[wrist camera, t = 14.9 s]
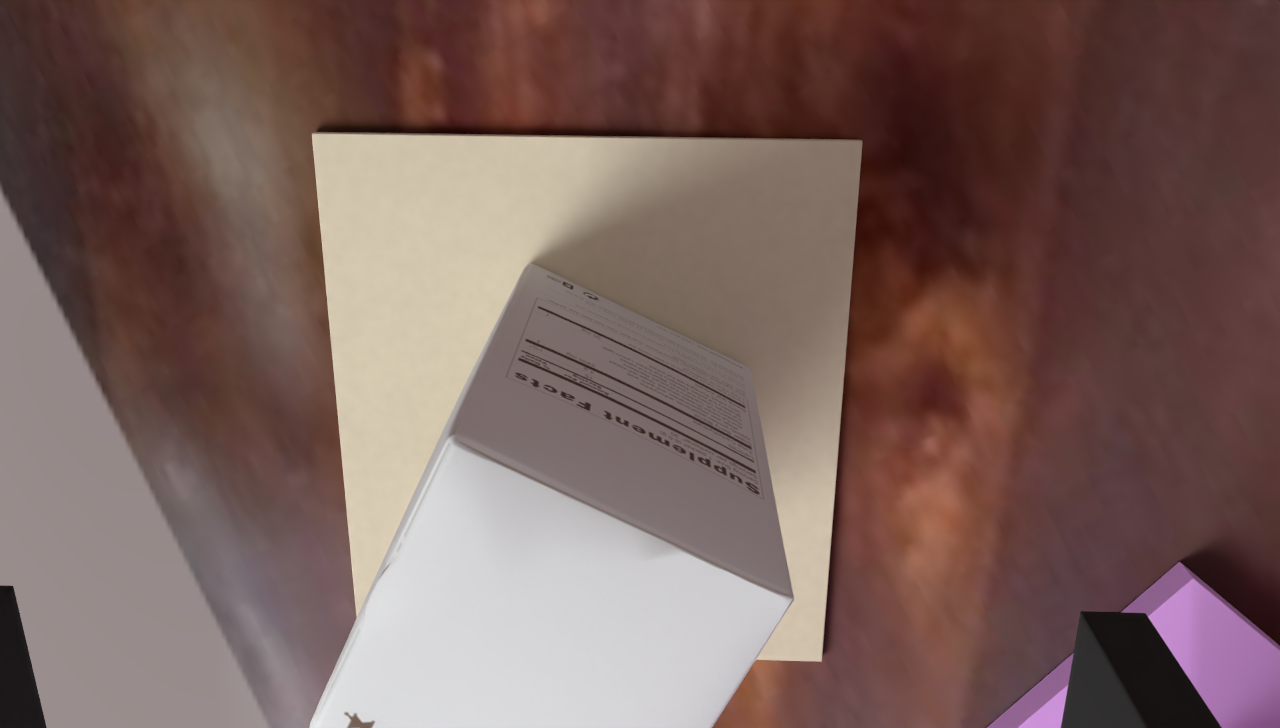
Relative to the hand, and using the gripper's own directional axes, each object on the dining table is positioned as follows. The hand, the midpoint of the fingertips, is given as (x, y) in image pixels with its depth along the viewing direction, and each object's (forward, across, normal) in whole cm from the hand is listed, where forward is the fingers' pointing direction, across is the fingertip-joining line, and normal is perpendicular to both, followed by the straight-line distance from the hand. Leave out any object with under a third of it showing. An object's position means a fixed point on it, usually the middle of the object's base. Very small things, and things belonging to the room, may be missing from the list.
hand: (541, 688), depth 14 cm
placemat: (+25, -2, -8) cm, 26 cm away
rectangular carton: (+25, -2, -8) cm, 26 cm away
